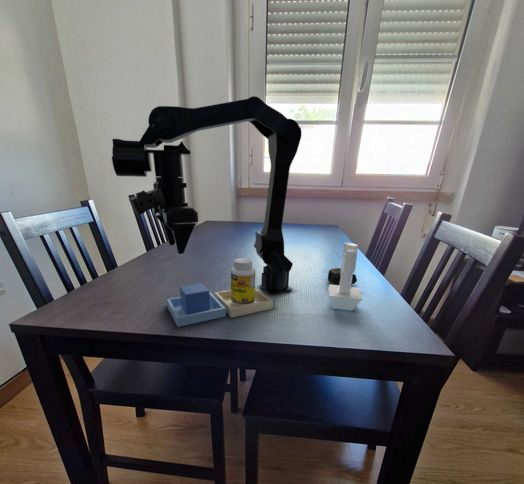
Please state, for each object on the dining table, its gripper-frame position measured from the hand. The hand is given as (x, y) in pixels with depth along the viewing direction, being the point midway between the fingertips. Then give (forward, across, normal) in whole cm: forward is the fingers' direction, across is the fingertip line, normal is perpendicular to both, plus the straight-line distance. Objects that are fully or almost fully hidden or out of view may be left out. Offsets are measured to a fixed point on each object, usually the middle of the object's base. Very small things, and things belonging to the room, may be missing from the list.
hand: (176, 249), depth 66 cm
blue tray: (+12, +10, +1) cm, 16 cm away
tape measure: (+12, +11, +43) cm, 46 cm away
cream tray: (+12, +11, +12) cm, 20 cm away
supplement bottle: (+12, +11, +12) cm, 20 cm away
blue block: (+12, +10, +1) cm, 15 cm away
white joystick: (+12, +22, +33) cm, 41 cm away
